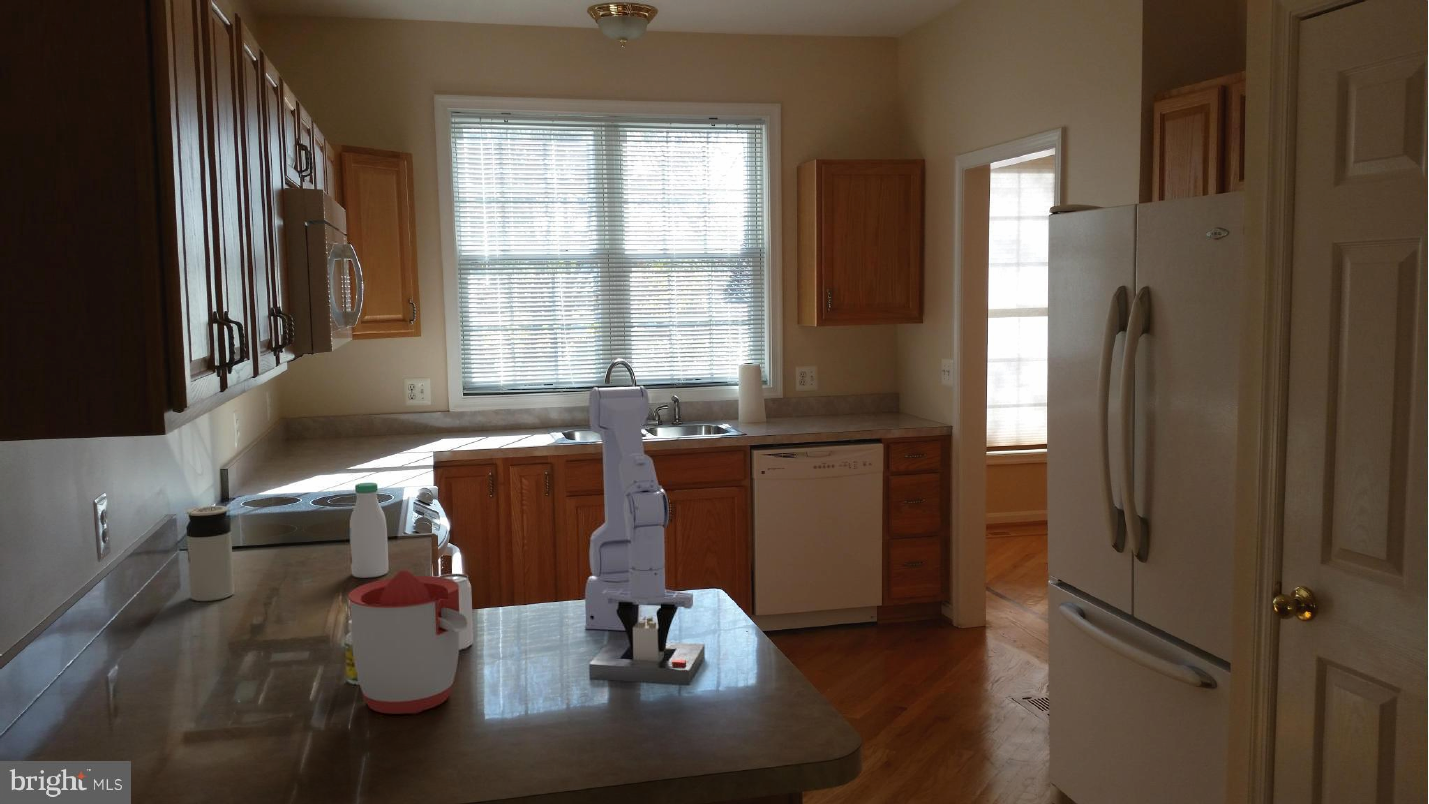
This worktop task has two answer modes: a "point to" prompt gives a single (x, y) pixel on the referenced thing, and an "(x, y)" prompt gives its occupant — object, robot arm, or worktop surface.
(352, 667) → the supplement bottle
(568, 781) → the worktop surface
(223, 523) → the travel mug
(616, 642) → the socket plate
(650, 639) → the plug
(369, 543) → the milk bottle
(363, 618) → the citrus juicer
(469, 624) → the can
